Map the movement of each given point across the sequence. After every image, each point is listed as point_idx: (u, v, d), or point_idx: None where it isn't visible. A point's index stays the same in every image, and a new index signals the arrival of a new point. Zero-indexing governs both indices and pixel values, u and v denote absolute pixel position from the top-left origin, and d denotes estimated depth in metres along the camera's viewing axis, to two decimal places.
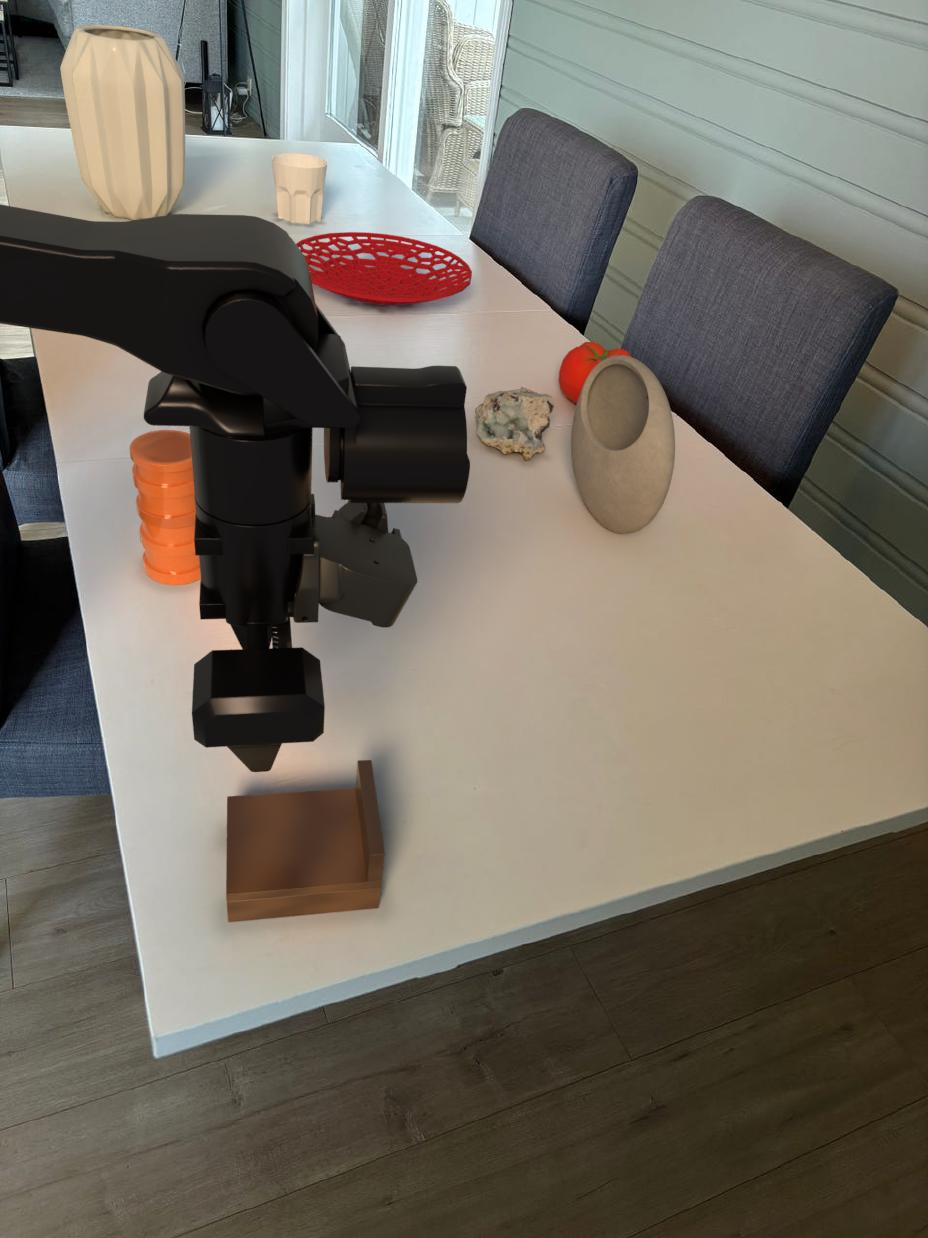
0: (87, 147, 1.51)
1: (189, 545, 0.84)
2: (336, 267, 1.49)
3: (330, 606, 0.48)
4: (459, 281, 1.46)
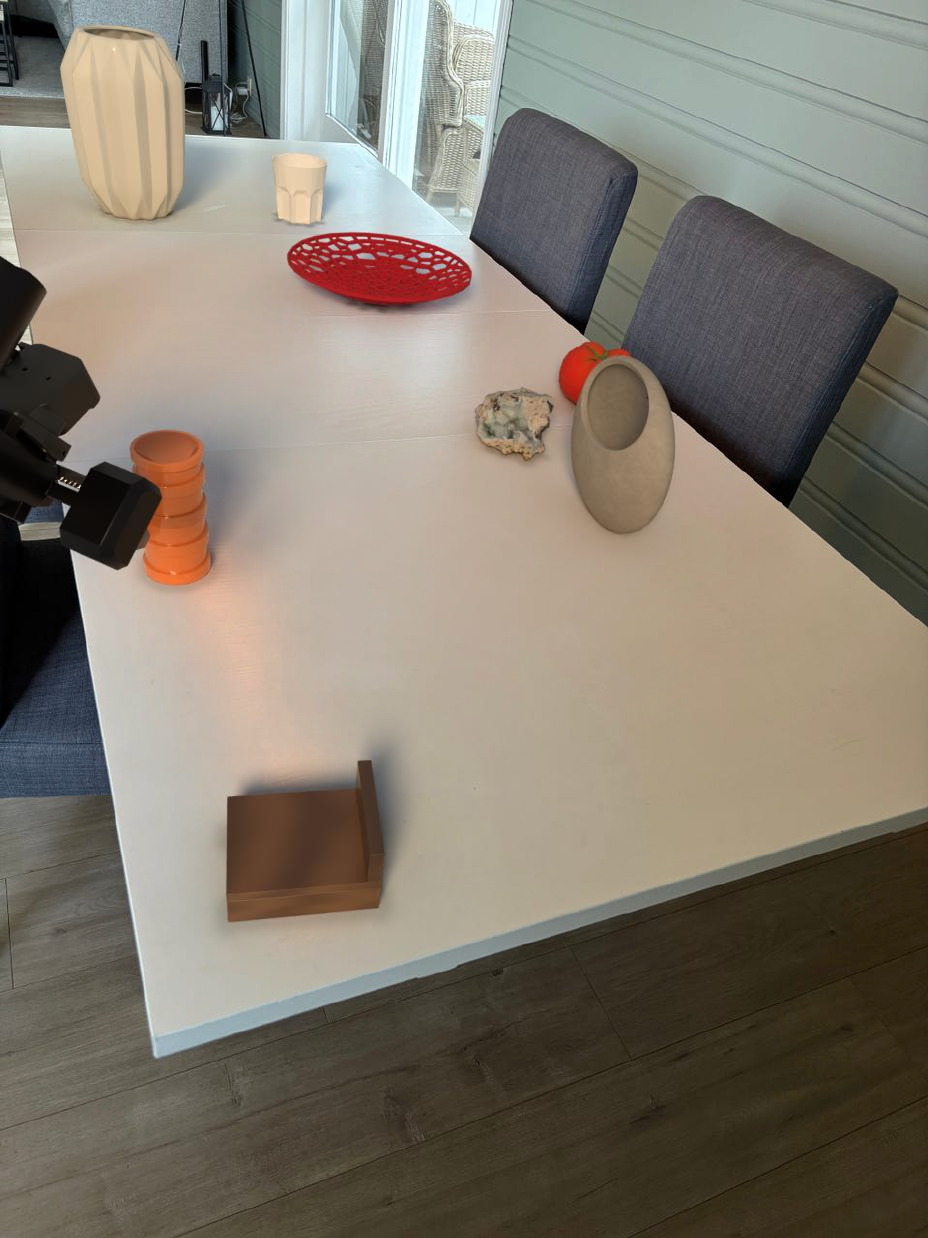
0: (87, 147, 1.51)
1: (189, 545, 0.84)
2: (336, 267, 1.49)
3: (64, 430, 0.60)
4: (459, 281, 1.46)
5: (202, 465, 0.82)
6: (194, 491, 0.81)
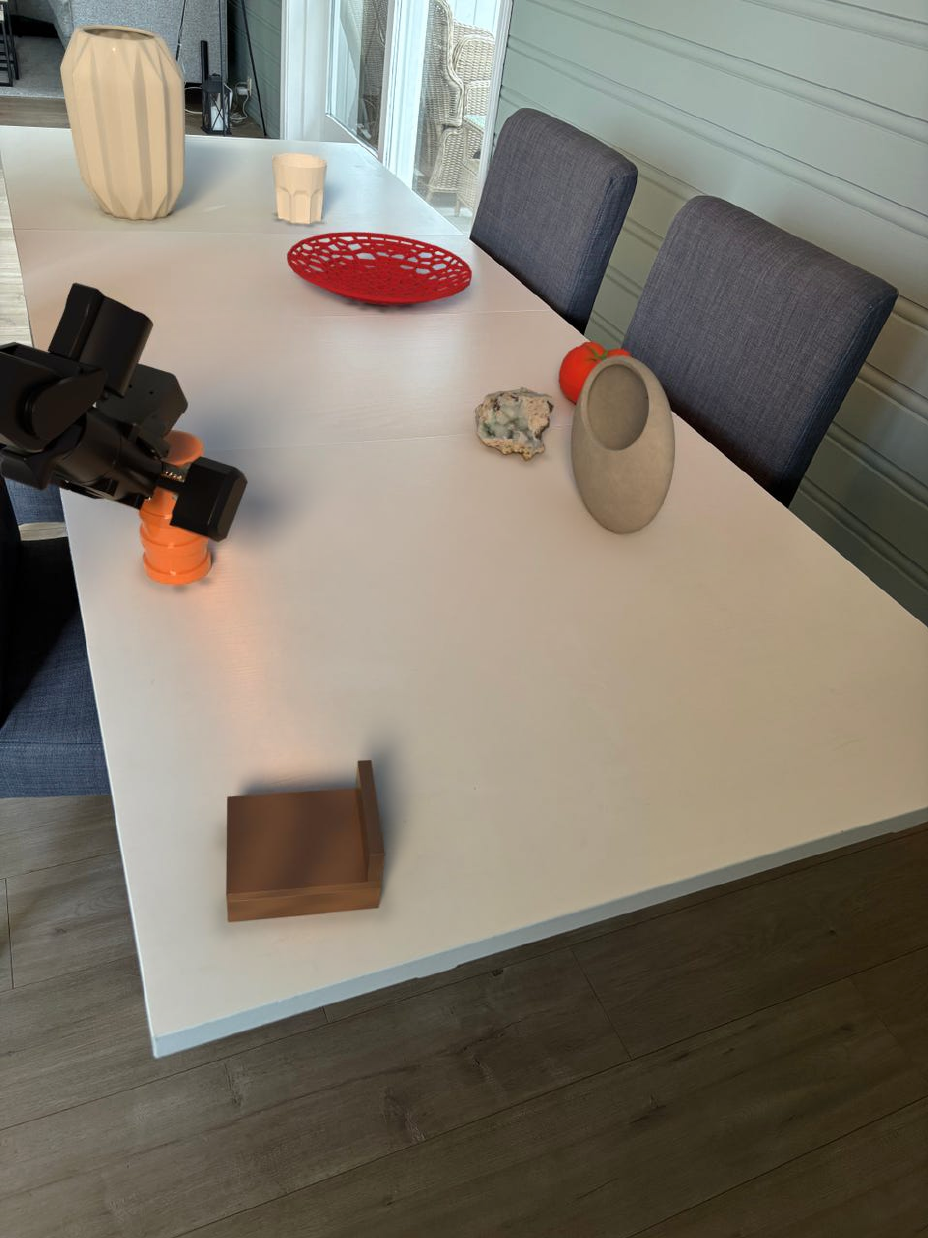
0: (87, 147, 1.51)
1: (189, 545, 0.84)
2: (336, 267, 1.49)
3: (165, 433, 0.75)
4: (459, 281, 1.46)
5: None
6: None
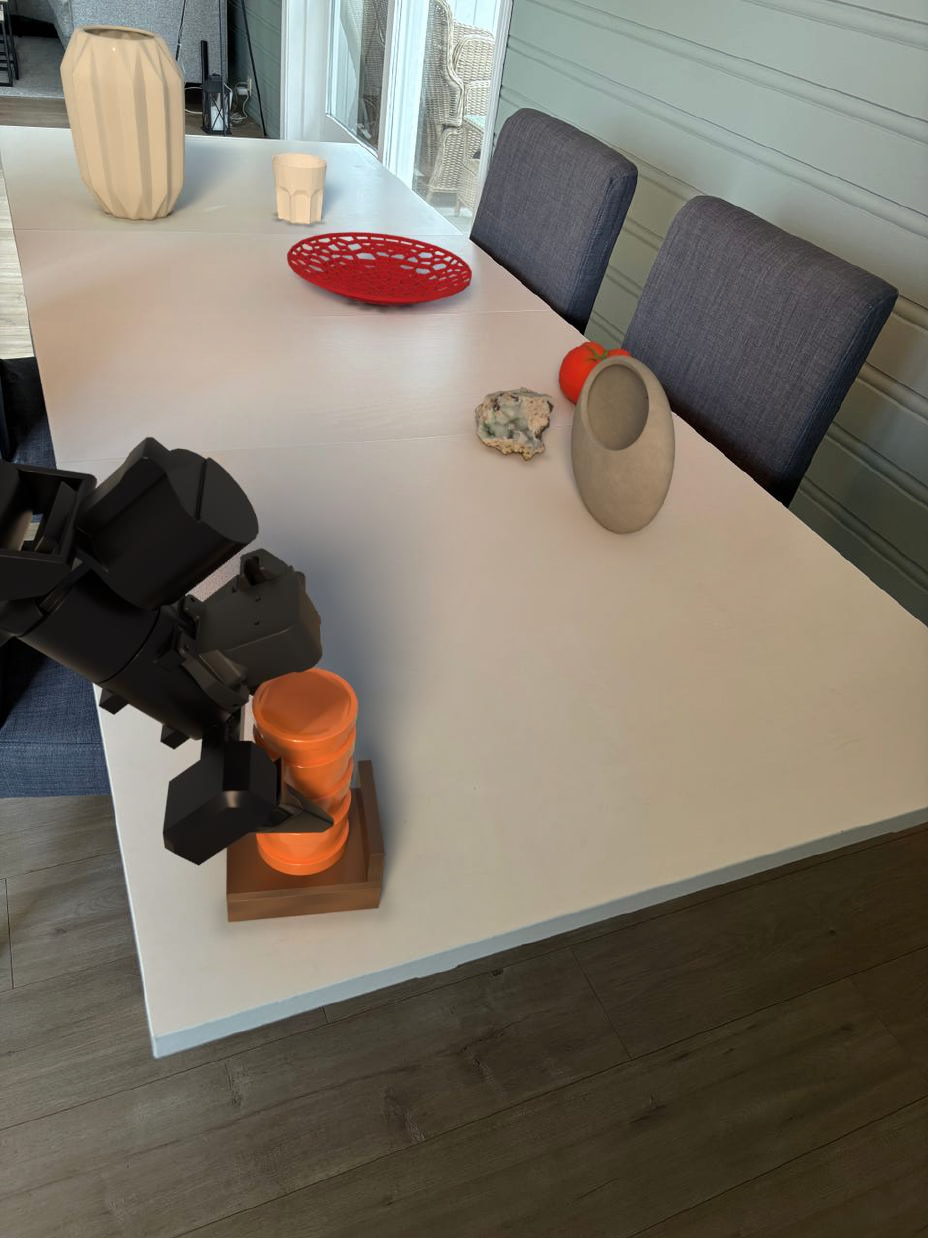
0: (87, 147, 1.51)
1: None
2: (336, 267, 1.49)
3: (249, 682, 0.49)
4: (459, 281, 1.46)
5: (339, 754, 0.54)
6: (293, 777, 0.54)
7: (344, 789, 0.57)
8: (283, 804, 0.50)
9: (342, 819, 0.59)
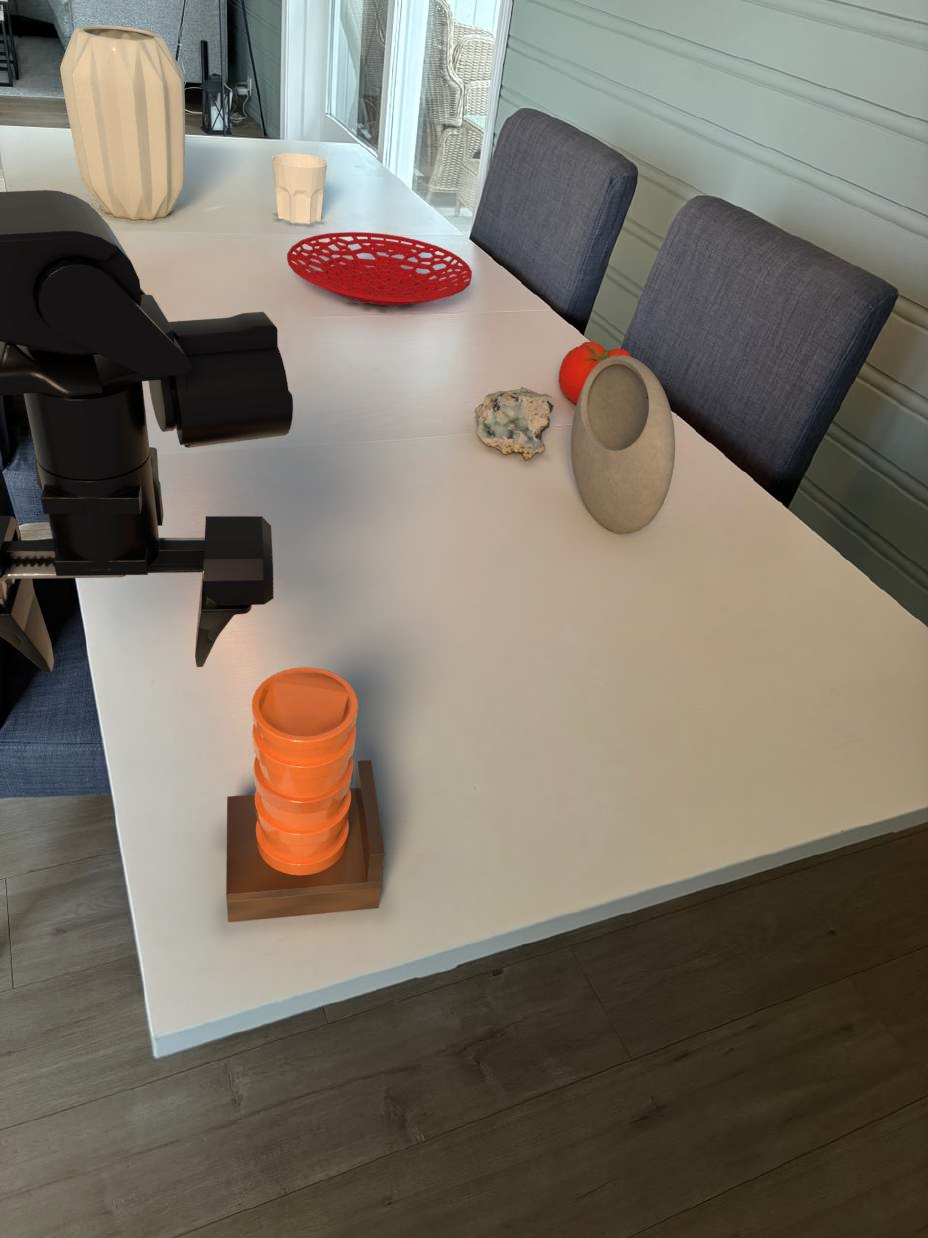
0: (87, 147, 1.51)
1: (278, 830, 0.57)
2: (336, 267, 1.49)
3: None
4: (459, 281, 1.46)
5: (339, 754, 0.54)
6: (293, 777, 0.54)
7: (344, 789, 0.57)
8: None
9: (342, 819, 0.59)
